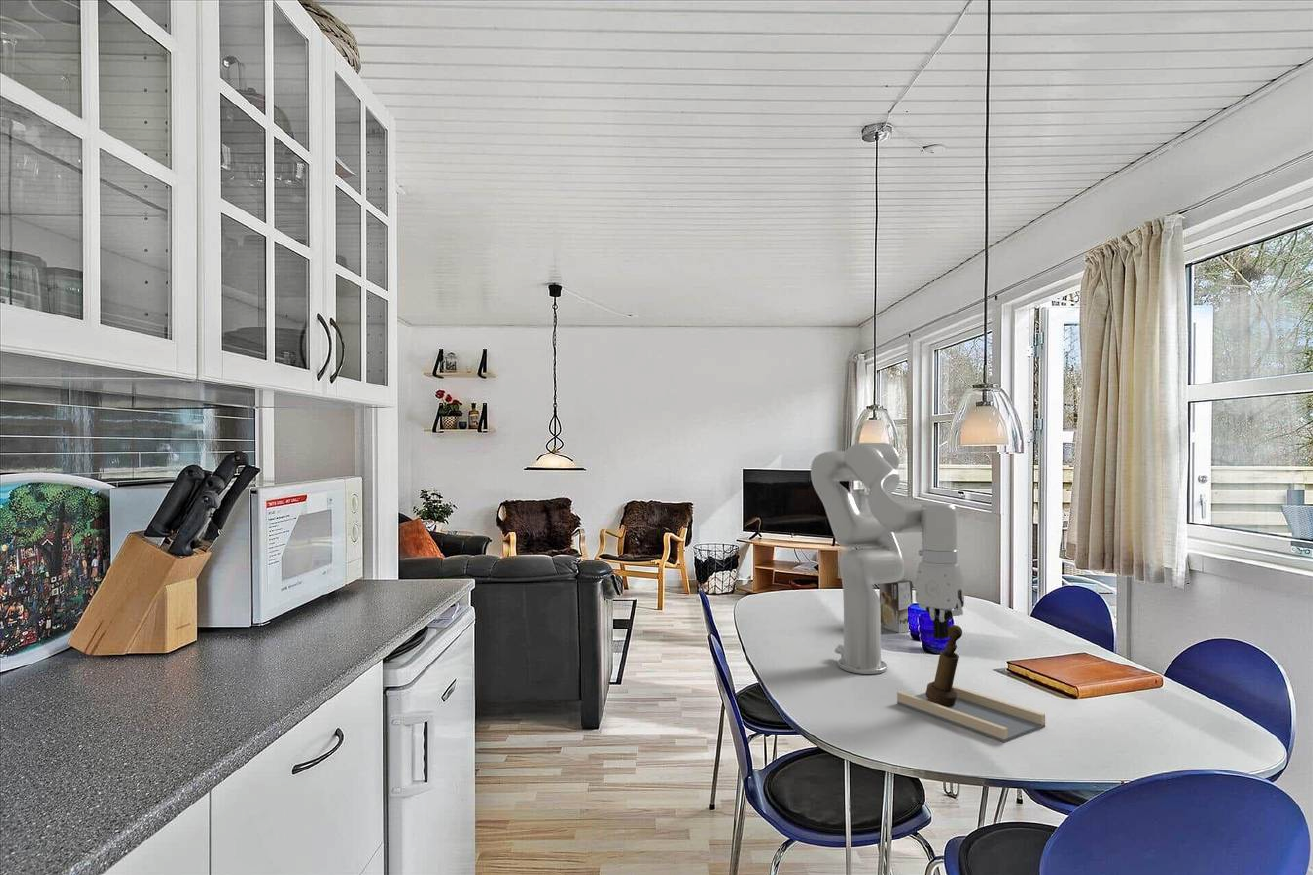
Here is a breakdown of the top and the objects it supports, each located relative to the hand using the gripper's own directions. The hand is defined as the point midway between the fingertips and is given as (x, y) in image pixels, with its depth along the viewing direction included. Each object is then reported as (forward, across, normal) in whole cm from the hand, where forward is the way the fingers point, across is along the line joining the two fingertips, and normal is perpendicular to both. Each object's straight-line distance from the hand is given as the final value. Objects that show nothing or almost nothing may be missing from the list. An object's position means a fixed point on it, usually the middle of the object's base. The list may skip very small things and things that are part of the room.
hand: (940, 637), depth 165 cm
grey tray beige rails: (+15, +6, 0) cm, 17 cm away
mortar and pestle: (+14, -1, 0) cm, 14 cm away
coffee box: (+15, -52, +48) cm, 72 cm away
